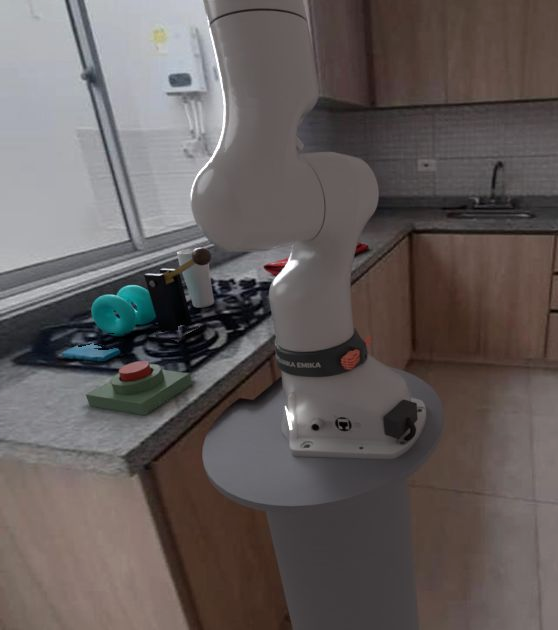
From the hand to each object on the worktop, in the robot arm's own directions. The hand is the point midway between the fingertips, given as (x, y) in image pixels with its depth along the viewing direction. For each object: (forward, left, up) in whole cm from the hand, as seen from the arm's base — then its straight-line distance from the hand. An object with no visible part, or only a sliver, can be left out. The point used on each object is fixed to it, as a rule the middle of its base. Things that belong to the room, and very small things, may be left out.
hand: (241, 186), depth 95 cm
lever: (+8, +12, -17) cm, 22 cm away
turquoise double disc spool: (+29, +12, -31) cm, 44 cm away
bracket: (+15, +12, -31) cm, 37 cm away
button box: (0, +35, -31) cm, 47 cm away
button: (0, +35, -27) cm, 44 cm away
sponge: (+25, +25, -31) cm, 47 cm away
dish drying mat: (+15, -55, -31) cm, 65 cm away
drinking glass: (+24, -6, -31) cm, 40 cm away
